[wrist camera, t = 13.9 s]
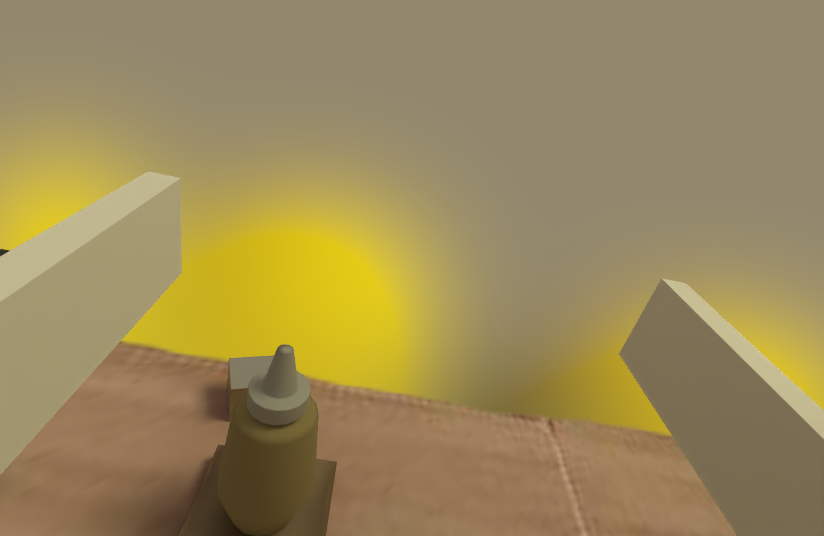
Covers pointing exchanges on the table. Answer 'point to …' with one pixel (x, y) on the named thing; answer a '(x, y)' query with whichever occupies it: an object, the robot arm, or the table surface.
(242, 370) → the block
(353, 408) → the table surface
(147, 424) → the table surface
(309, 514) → the stand
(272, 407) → the squeeze bottle
